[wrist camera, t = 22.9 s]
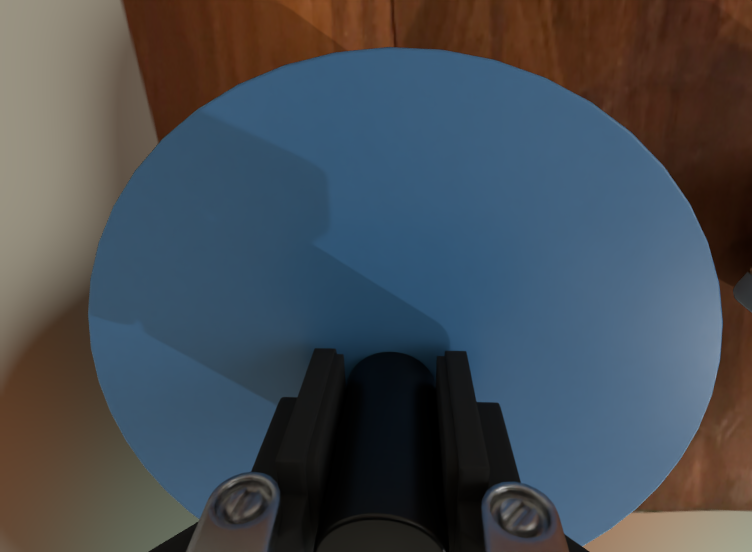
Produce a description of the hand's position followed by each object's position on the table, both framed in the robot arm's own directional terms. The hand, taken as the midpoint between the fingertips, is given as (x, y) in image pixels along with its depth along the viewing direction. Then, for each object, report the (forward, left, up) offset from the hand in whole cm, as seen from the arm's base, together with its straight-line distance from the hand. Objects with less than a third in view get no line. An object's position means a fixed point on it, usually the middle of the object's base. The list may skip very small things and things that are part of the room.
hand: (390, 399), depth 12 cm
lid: (0, 0, -1) cm, 1 cm away
